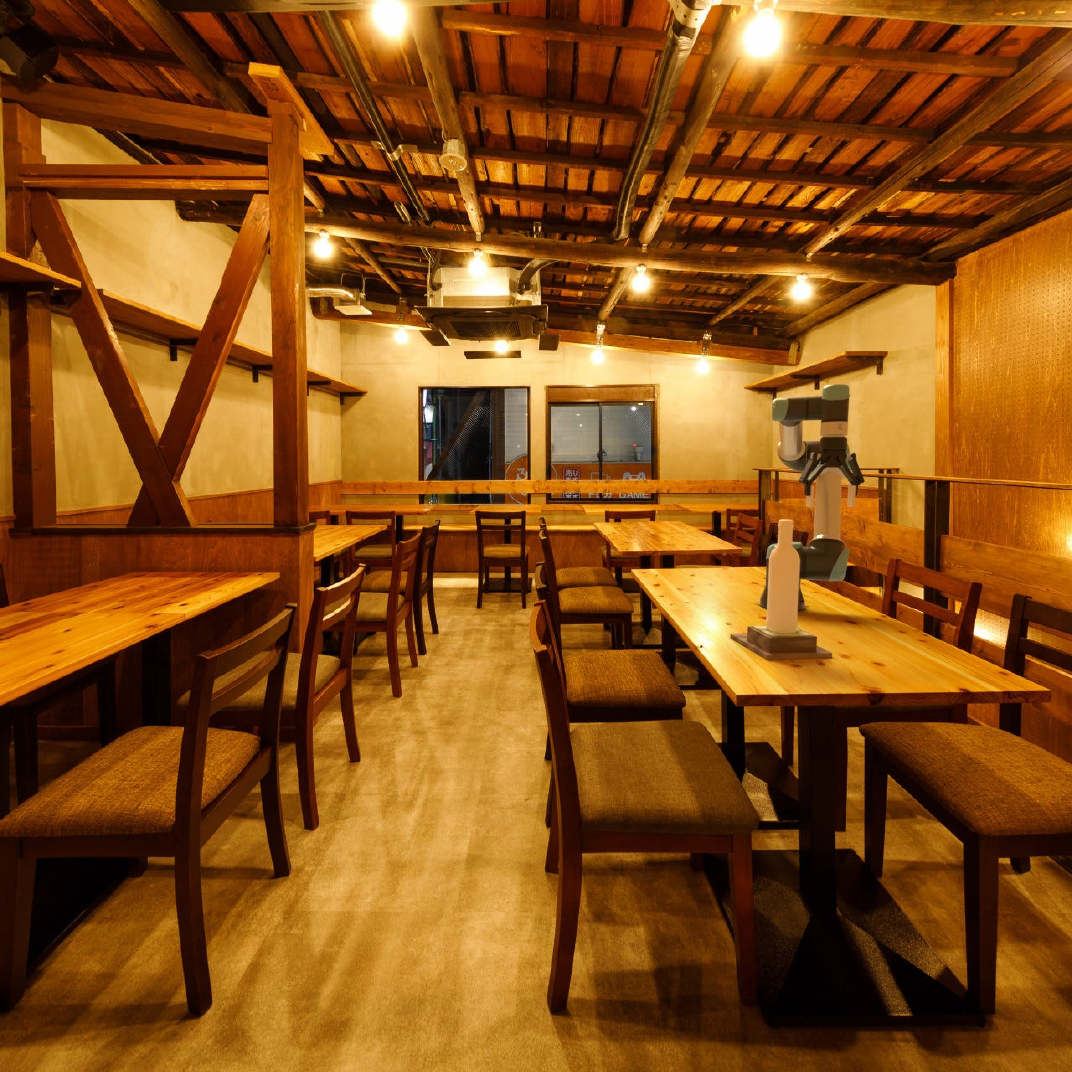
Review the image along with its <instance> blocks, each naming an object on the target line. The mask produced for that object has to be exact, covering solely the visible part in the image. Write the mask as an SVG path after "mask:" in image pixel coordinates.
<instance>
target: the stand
mask: <svg viewBox="0 0 1072 1072" xmlns="http://www.w3.org/2000/svg"><path fill="white" fill-rule="evenodd" d="M746 631H747V632H746V633H744V632H743V633H730V637H729V638H730V639H731V640H733V641H734V642H736V643H738V644H740V645H741V646H742V647H744V648H746V649H748V650H750V651H751V652H753V653H755V654H756V655H758V656H760V657H761V658H763V659H765V660H767V661H768V660H769V661H771V660H772V661H773V660H797V659H799V660H800V659H801V660H803V659H826V658H833V652H831V651H829V650H827V649H825V648H823V647H821V646H819V645H818V636H816V635H814V634H812V633H810V632H808V631H805V630H803V629H800V628H799V627H797V632H795V633H792V634H781V633H774V632H771V631H768V630H767V629H766V625H752V626H750V625H748V626H747V630H746Z"/></svg>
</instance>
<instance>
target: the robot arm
mask: <svg viewBox="0 0 1072 1072" xmlns="http://www.w3.org/2000/svg"><path fill="white" fill-rule="evenodd" d="M850 397H851V395H850V386H849V385H848V384H841V383H840V384H838V383H837V384H829V385H828V384H827V385H825V386H823V387H822V391H821V396H819V395H817V396H816V395H815V396H797V397H795V396H794V397H785V396H784V397H780V398H778V397H777V398H774V399H773V401H772V403H771V404H772V406H771V420H772V422H773V421H774V422H778V427H779V428H778V431H779V443H778V445H777V447H776V448H777V456H778V458H779V460H780V461H781V463H782V464H783V465H785V466H786V467H788V468H789V469H791V470H792V471H795V472H799V473H801V475H800V477H799V478H798V483H799V484H802V485H803V486H804V487H803V488H804V491H803V495H804V496H805V497H806V499H805V501H806V502H805V507H806V508H814V518H813V519H814V520H813V522H814V523H813V538H812V539H811V540H809V541H808V546H804V545H803V543H802V541H792V547H793V548H794V549H795V550H796V551H797V552H798V555H799V558H800V569H799V591H798V612H799V611H803V610H805V609H806V608H805V607H806V601H805V598H804V595H803V592H802V588H801V580H808V581H809V580H810V581H825V582H842V581H843V580H844V579H845V577H846V573H847V572H846V571H847V567H848V562H849V557H850V549H849V547H846V543H845V542H844V541H843V540H842V539H841V525H842V524H841V521H842V515H841V514H842V480H844V479H845V478H846V479H847V481H848V482H849V484H850V485H848V486H847V499H846V501H847V503H846V505H847V506H846V507H851V508H852V507H856V496H857V497H858V493H859V492H858V490H859V486H860V485H861V484H864V483H865V482H866V481H865V478H864V475H863V473H862V471H861V468H860V466H859V464H858V460H857V454H856V452H851V451H850V445H849V443H848V437H847V436H848V428H849V412H850V411H849V409H850ZM804 421H820V430H819V431H820V432H819V435H820V439H819V440H814V441H813V440H811V441H810V440H809V441H806V440H803V435H804V434H803V433H804V431H803V430H804V424H803V423H804ZM814 482H815V485H813V483H814ZM777 546H778V542H777V543H773V544H770V545H769V546H768V547H767V549H766V551H767V552H766V557H765V559H766V567H765V569H766V571H765V585H764V587H763V591H762V593H761V596H760V598H759V606H760V607H761V608H764V609H767V599H768V573H769V557H770V555H771V552H772V550H773V549H775V548H776V547H777Z"/></svg>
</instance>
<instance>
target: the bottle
mask: <svg viewBox="0 0 1072 1072" xmlns="http://www.w3.org/2000/svg"><path fill="white" fill-rule="evenodd" d="M794 526H795V524H794V520H792V519H779V520H778V525H777V528H778V534H777V536H778V537H777V543H778V546H777V547H776V548H775V549H773V550H772V552H771V555H770V557H769V573H768V599H767V608H766V620H765V624H766V625H765V626H766V629H767V630H768V631H771V632H774V633H781V634H792V633H795V632H797V628H798V622H799V621H798V612H799V611H798V591H799V569H800V558H799V555H798V552H797V551H796V550H795V549H794V548H793V547H792V542H793V538H794V537H793V534H794Z"/></svg>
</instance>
